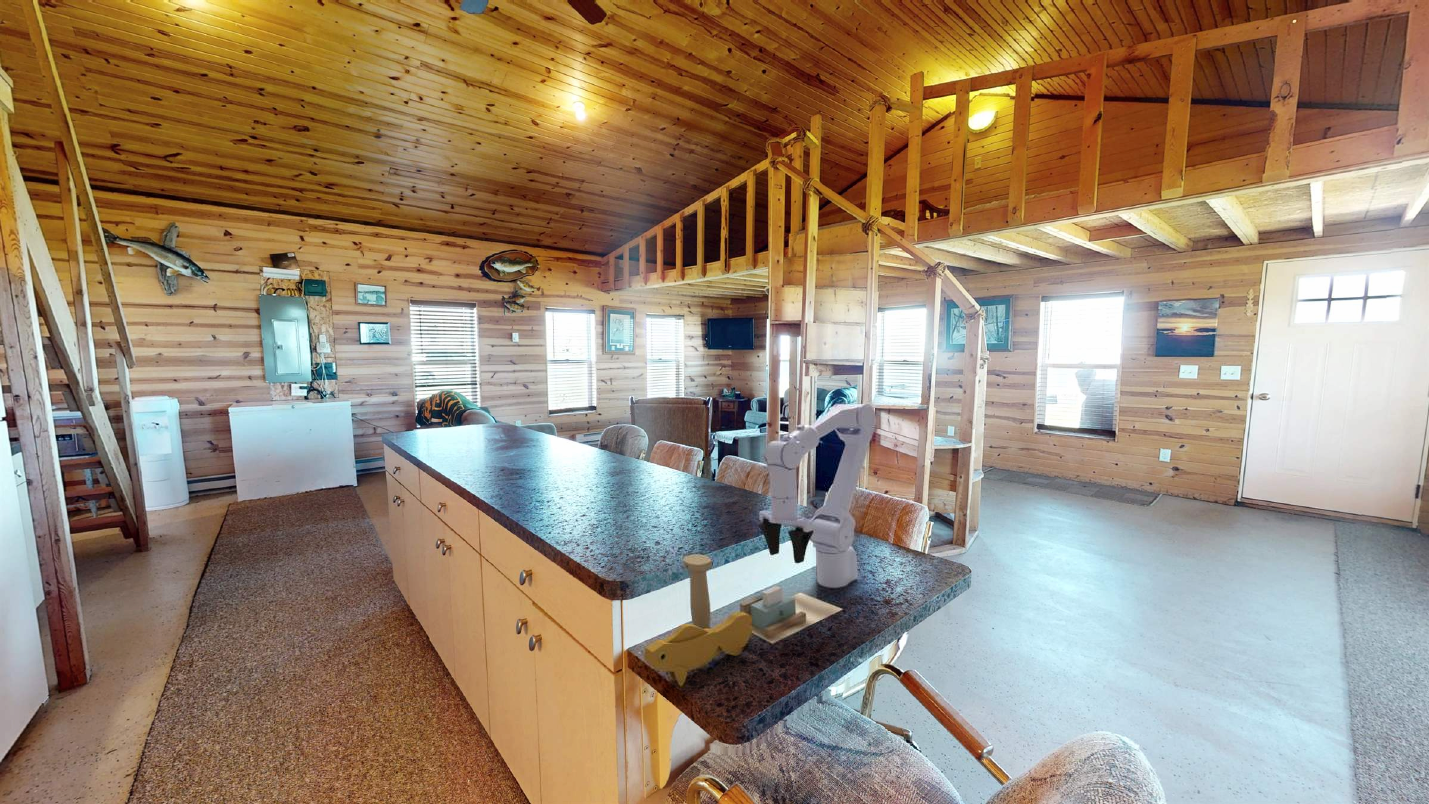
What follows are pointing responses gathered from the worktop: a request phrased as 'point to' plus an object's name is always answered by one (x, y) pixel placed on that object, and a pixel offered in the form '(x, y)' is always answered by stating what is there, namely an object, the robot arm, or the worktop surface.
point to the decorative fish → (698, 645)
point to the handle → (699, 589)
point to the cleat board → (792, 617)
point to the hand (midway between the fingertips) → (786, 558)
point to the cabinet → (772, 608)
